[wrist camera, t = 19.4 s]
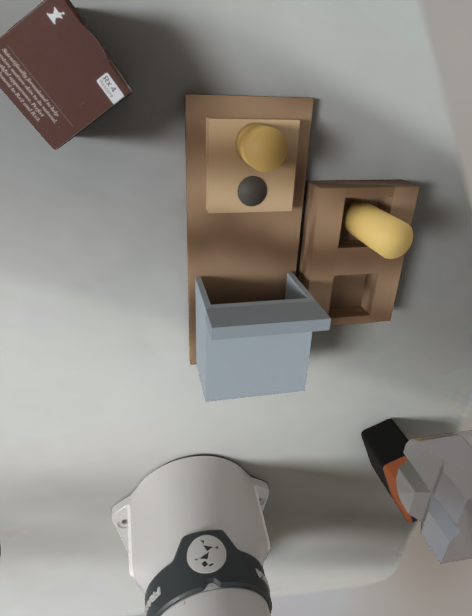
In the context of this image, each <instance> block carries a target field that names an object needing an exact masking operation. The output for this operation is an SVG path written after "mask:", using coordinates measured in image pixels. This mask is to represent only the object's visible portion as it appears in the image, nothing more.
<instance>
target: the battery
mask: <svg viewBox="0 0 472 616" xmlns="http://www.w3.org/2000/svg"><path fill="white" fill-rule="evenodd" d="M361 435H362V439H363V442H364V445H365V447H366V450H367V453H368V456H369V459H370V462H371V465H372V466H373V468H374V470H375V471H376V473H377V474H378V476H379V478H380V479H381V481H382V482H383V484H384V486H385V487H386V489H387V490H388V492H389V494H390V495H391V497H392V498H393V500H394V502H395V503H396V505H397V506H398V508H399V510H400V511H401V513H402V514H403V516H404V518H405V519H406V521H407V522H409V523H412V522H415V521H417V519H416V518H414V517H413V516H411V515H410V514H408V512H407V511H406V509H405V507H404V506H403V504H402V502H401V500H400V497H399V495H398V492H397V484H396V477H397V473H398V468H399V467H400V466H401V465H402V464H403V463H404V462H405V461H406V460H407V458H406V456H405V454H404V453H403V452H404V448H405V445H406V443H407V442H408V441H409V440H408V439H407V438H406V437H405V435H404V434H403V433H402V431H401V430H400V429H399V427H398V426H397V425H396V424H395V422H394V421H393V420H392V419H389V420H386V421H384V422H382V423H380V424H378V425H376V426H373V427H371V428H369V429H367V430H365V431H363V432H362V434H361Z"/></svg>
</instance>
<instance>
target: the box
mask: <svg viewBox="0 0 472 616" xmlns="http://www.w3.org/2000/svg"><path fill="white" fill-rule="evenodd" d="M0 88H1V89H2V90H3V91H4V93H5V94H6V95H7V96H8V97H9V98H10V100H11V101H12V102H13V103H14V104H15V105H16V106H17V108H18V109H19V110H20V111H21V112H22V114H23V115H24V116H25V117H26V118H27V119H28V120H29V122H30V123H31V124H32V125H33V126H34V127H35V129H36V130H37V131H38V132H39V133H40V134H41V136H42V137H43V138H44V139H45V140H46V141H47V142H48V143H49V144H50V145H51V147H52V148H53V149H55V150H56V149H58V148H60V147H61V146H62V145H64V144H65V143H67V142H68V141H70V140H71V139H72V138H73V137H75V136H76V135H77V134H79V133H80V132H81V131H83V130H84V129H85V128H87V127H88V126H90V125H91V124H92V123H93V122H95V121H96V120H97V119H99V118H100V117H101V116H103V115H104V114H105V113H106V112H108V111H109V110H110V109H112V108H113V107H114V106H115V105H117V104H118V103H119V102H120V101H122V100H123V99H124V98H126V97H127V96H128V95H130V94H131V93H132V89H131V88H130V86H129V84H128V83H127V81H126V80H125V78H124V77H123V75H122V74H121V72H120V71H119V70H118V68H117V66H116V65H115V63H114V62H113V60H112V59H111V57H110V56H109V54H108V53H107V51H106V50H105V49H104V47H103V46H102V44H101V43H100V42H99V40H98V39H97V37H96V36H95V35H94V33H93V32H92V30H91V29H90V28H89V26H88V25H87V23H86V22H85V21H84V19H83V18H82V17H81V15H80V14H79V13H78V11H77V10H76V8H75V7H74V6H73V4H72V3H71V2H70V0H44V1H43V2H42V3H41V4H39V5H38V6H37V7H36V8H35V9H34V10H33V11H31V12H30V13H29V14H28V15H26V16H25V17H24V18H23V19H21V20H20V21H19V22H17V23H16V24H15V25H14V26H13V27H12V28H10V29H9V30H8V31H7V32H6V33H5V34H4V35H2V36H1V37H0Z"/></svg>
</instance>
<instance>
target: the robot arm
mask: <svg viewBox="0 0 472 616" xmlns="http://www.w3.org/2000/svg"><path fill="white" fill-rule="evenodd" d="M403 453H404V454H405V456H406V458H407V460H406V461H405V462H404V463H403V464H402V465H401V466H400V467H399V468H398V473H397V477H396V484H397V492H398V495H399V497H400V500H401V502H402V504H403V506H404V507H405V509H406V511H407V512H408V514H410V515H411V516H413V517H414V518H416V519H417V520H419V521H420V522H421V534H422V536H423V537H424V539H425V540H426V542H427V543H428V545H429V547H430V548H431V550H432V551H433V553H434V554H435V556H436V557H437V559H438V561H439V562H440V564H442V563H447V562H454V561H459V560H465V559H471V558H472V430H469V431H462V432H455V433H446V434H439V435H433V436H426V437H419V438H412V439H410V440H409V441H408V442H407V443H406V445H405V448H404V452H403ZM268 496H269V488H268V485H267V483H265V482H263V481H261V480H258V479H255V478H252V477H250V476H249V475H248V474H247V473H246V472H245V471H244V470H243V469H242V468H241V467H239V466H238V465H237V464H235V463H233V462H231V461H229V460H226V459H223V458H219V457H214V456H193V457H187V458H182V459H179V460H176V461H173V462H170V463H168V464H165V465H163V466H161V467H160V468H158V469H156V470H155V471H153V472H152V473H151V474H149V475H148V476H147V477H146V478H145V479H144V480H143V481H142V482H141V483H140V484H139V486H138V487H137V488H136V490H135V491H134V492H133V493H132V494H131V495H130V496H129V497H127V498H125V499H124V500H122V501H120V502H119V503H117V504H116V505H115V506H114V507H113V508H112V520H113V522H114V524H115V526H116V528H117V530H118V533H119V535H120V537H121V539H122V541H123V543H124V545H125V547H126V549H127V552H128V554H129V570H130V575H131V576H133V577H134V578H135V581H136V583H137V585H138V587H139V588H140V589H141V591H142V592H143V594H144V595H145V611H144V616H271V615H270V614H271V610H272V602H271V598H270V589H269V585H268V581H267V579H266V577H265V574H264V570H263V563H264V561H265V560H266V557H267V555H268V551H269V550H270V541H269V537H268V533H267V529H266V525H265V521H264V517H263V510H264V508H265V505H266V502H267V499H268ZM0 554H1V546H0Z"/></svg>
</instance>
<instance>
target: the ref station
mask: <svg viewBox="0 0 472 616" xmlns="http://www.w3.org/2000/svg"><path fill="white" fill-rule="evenodd" d="M313 100H314V98H303V97H268V96H234V95H199V94H185V139H186V191H187V243H188V294H189V346H190V364H191V365H193V364H197V363H196V293H195V278H198V277H201V279H202V282H203V284H204V287H205V290H206V293H207V295H208V298H209V301H210V304H211V305H214V304H228V303H243V302H258V301H272V300H285V291H286V281H287V273H288V272H293V274H294V275H295V276H296V267H297V257H298V247H299V237H300V227H301V218H302V208H303V198H304V188H305V178H306V169H307V159H308V149H309V139H310V129H311V119H312V110H313Z"/></svg>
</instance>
